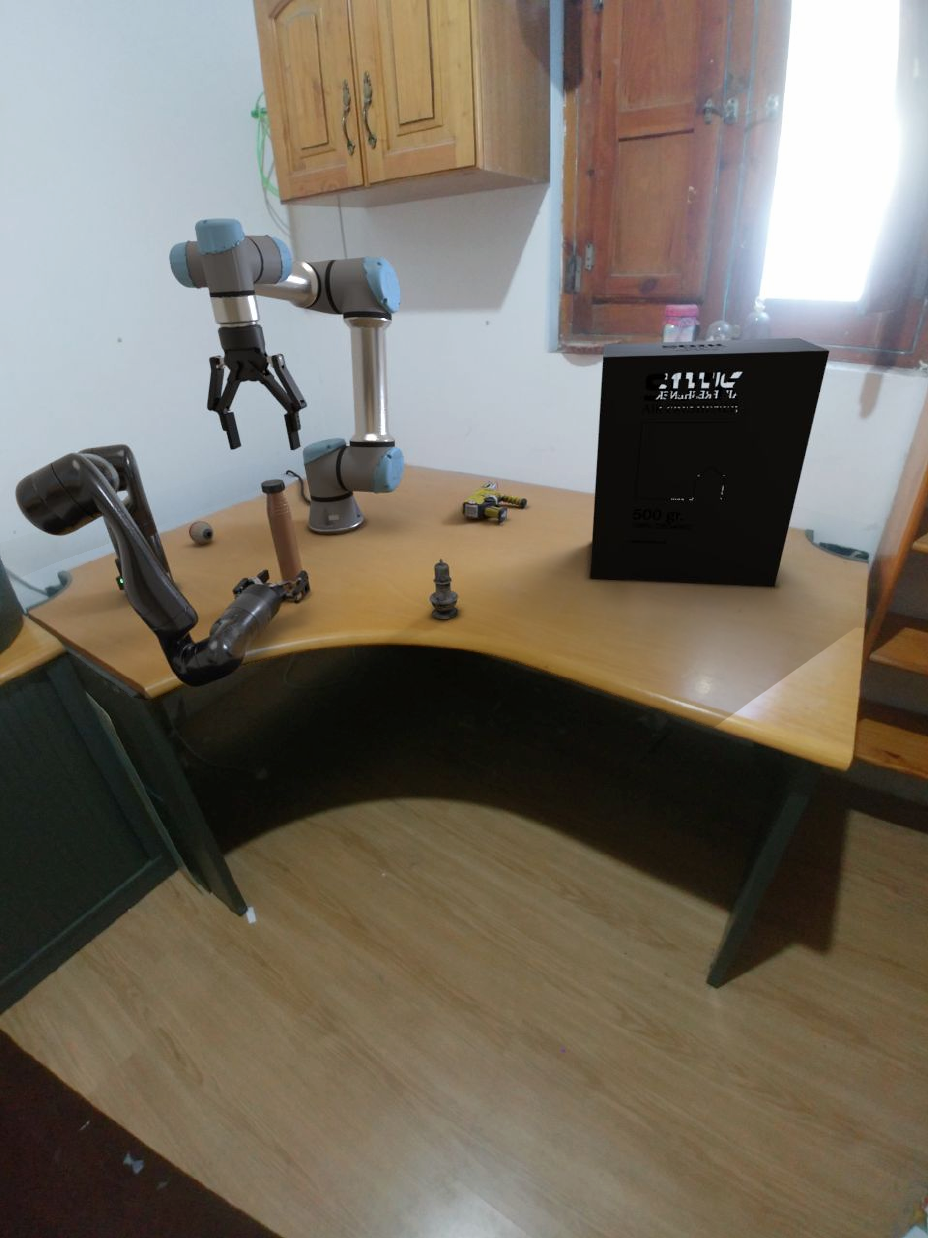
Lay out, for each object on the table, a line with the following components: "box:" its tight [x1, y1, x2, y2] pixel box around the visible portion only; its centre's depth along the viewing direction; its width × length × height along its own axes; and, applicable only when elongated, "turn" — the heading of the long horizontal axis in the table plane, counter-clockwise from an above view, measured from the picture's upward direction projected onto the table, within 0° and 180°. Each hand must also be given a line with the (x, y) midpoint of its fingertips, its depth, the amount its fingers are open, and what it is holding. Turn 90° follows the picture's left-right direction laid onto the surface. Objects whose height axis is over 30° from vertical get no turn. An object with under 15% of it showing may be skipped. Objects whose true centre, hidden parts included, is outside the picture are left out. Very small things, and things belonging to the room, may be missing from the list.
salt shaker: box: [428, 558, 459, 620], centre depth 120 cm, size 6×6×12 cm
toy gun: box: [461, 480, 528, 523], centre depth 173 cm, size 5×24×15 cm
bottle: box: [265, 491, 308, 602], centre depth 126 cm, size 5×5×25 cm
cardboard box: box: [589, 337, 830, 587], centre depth 126 cm, size 38×20×45 cm, turn 78°
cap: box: [260, 478, 286, 495], centre depth 120 cm, size 4×4×2 cm
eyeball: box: [188, 520, 214, 545], centre depth 161 cm, size 6×6×6 cm
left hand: (286, 573), depth 127 cm, fingers open, 8 cm apart
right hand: (265, 448), depth 116 cm, fingers open, 12 cm apart
